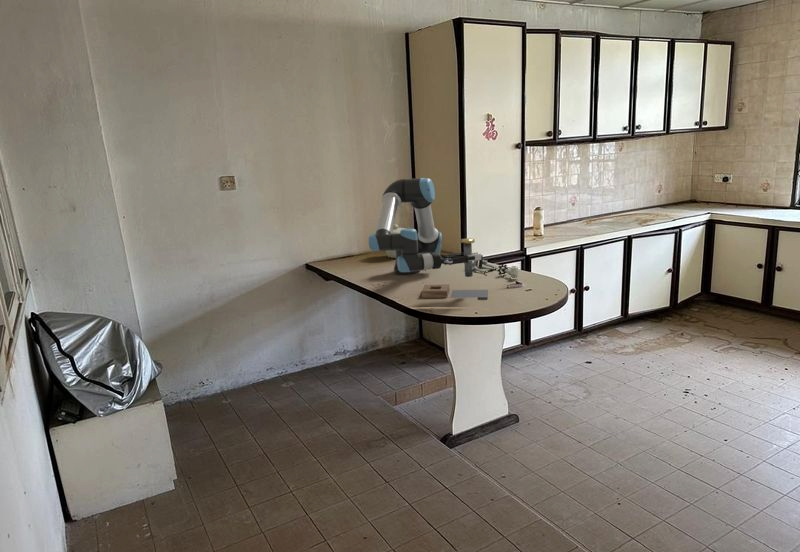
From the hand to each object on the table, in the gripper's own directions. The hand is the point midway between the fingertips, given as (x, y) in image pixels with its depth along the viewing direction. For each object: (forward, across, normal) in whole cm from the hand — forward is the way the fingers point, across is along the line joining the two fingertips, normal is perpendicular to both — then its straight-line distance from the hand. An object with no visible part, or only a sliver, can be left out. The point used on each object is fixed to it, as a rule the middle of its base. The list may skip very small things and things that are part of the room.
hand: (479, 255), depth 261 cm
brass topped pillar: (-5, 0, -9) cm, 10 cm away
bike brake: (+20, -45, -19) cm, 53 cm away
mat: (-5, -1, -19) cm, 20 cm away
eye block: (-20, -7, -19) cm, 28 cm away
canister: (-16, -106, -19) cm, 109 cm away
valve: (+26, -24, -19) cm, 40 cm away
